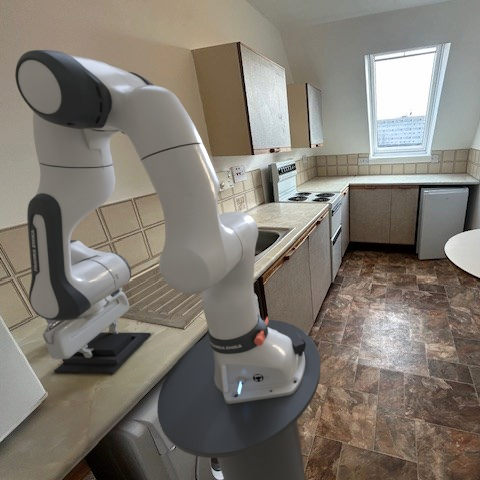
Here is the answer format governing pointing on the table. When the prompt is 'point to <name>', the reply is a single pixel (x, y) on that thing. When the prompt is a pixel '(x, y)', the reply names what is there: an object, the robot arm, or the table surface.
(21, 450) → the table surface
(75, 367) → the base pad
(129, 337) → the black pad
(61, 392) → the table surface
